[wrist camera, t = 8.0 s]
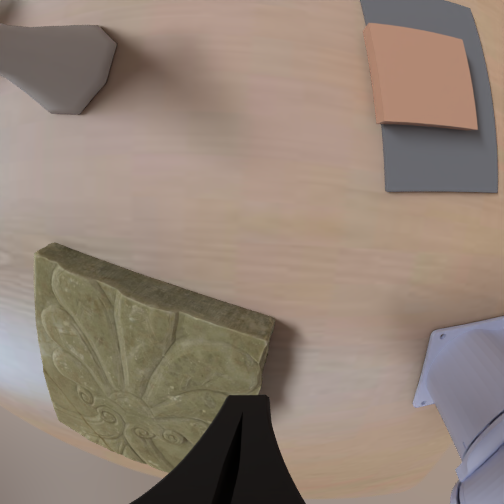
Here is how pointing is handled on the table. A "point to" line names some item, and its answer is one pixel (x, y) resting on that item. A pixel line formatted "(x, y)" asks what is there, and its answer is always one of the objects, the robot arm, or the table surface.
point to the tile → (419, 78)
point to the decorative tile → (140, 355)
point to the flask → (57, 63)
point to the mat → (433, 138)
